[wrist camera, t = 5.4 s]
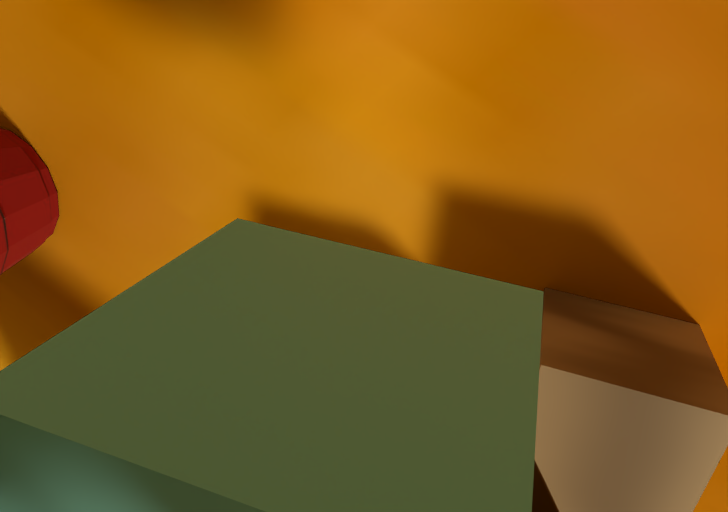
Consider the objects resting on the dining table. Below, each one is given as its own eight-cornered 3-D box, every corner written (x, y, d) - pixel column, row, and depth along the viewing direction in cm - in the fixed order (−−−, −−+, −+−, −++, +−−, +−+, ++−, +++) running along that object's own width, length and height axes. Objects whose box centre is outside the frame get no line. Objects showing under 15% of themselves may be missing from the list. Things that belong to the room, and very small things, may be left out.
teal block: (233, 444, 12) (33, 709, 7) (237, 218, 9) (-44, 398, 5) (475, 527, 10) (415, 903, 6) (543, 291, 8) (526, 608, 4)
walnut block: (512, 398, 22) (500, 494, 18) (545, 286, 20) (541, 364, 15) (648, 437, 21) (672, 551, 16) (698, 323, 19) (741, 419, 14)
